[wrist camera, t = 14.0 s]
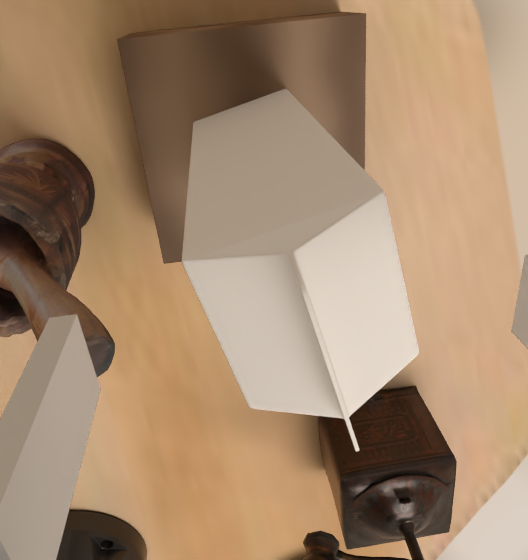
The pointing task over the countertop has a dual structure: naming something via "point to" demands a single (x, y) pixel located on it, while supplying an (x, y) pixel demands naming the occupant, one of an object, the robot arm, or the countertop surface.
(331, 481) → the coffee grinder
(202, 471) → the countertop surface
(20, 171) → the mortar and pestle
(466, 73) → the countertop surface
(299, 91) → the riser
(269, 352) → the milk
